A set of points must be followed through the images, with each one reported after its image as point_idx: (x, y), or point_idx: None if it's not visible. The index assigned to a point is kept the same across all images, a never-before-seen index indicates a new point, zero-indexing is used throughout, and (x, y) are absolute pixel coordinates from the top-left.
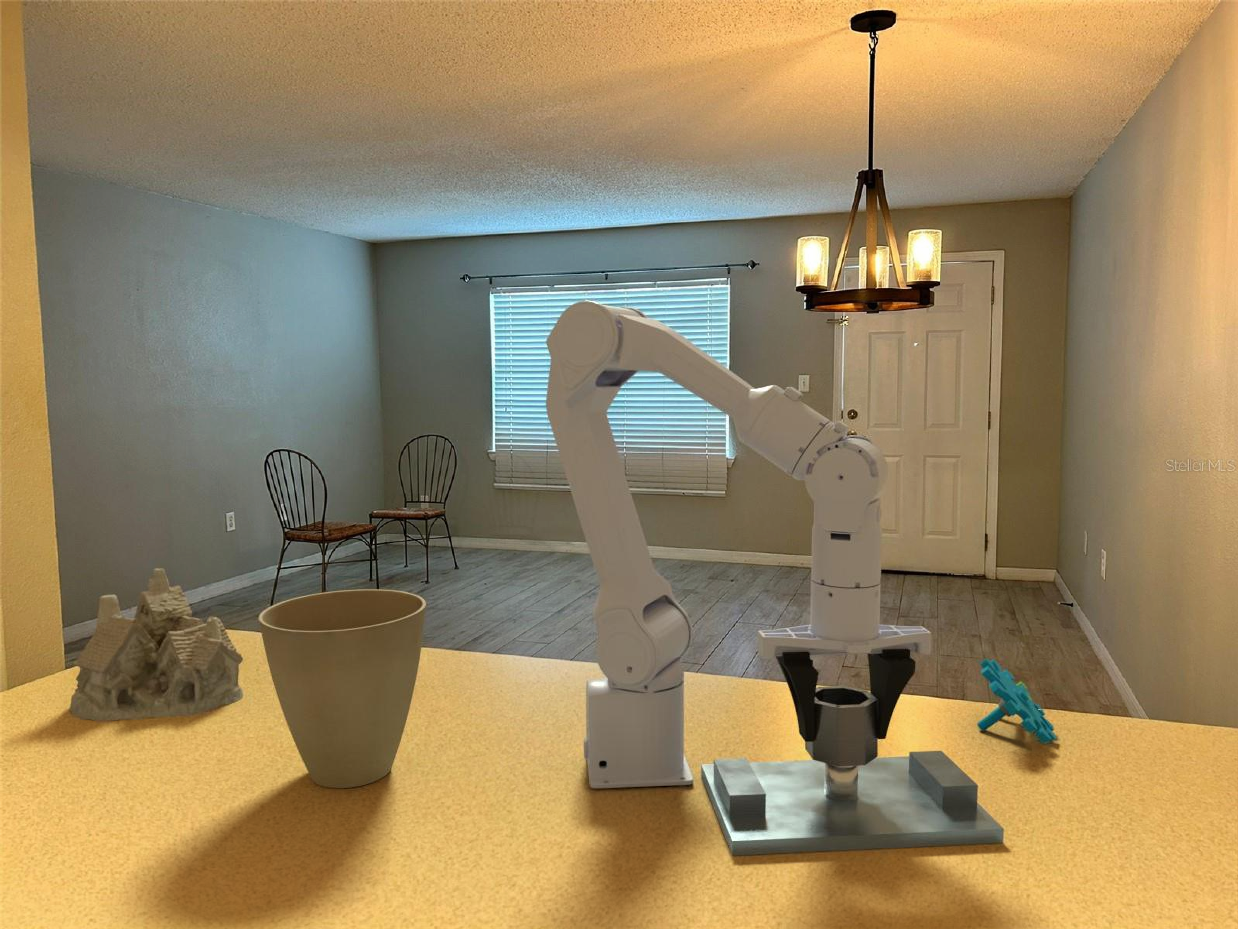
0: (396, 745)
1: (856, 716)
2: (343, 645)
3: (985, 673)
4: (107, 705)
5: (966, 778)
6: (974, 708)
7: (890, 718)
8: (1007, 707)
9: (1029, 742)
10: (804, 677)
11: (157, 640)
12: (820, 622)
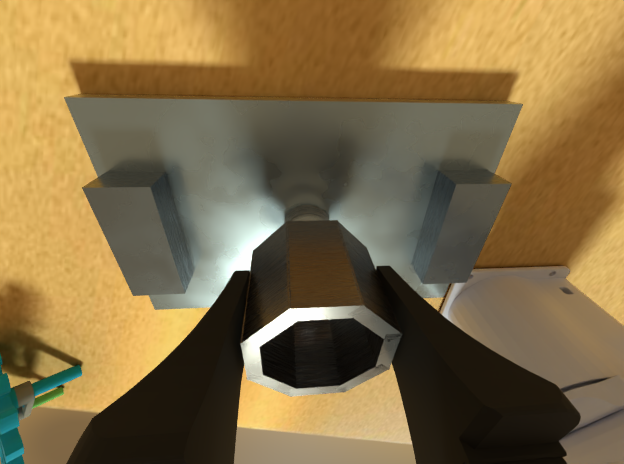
0: None
1: (310, 289)
2: None
3: (15, 448)
4: None
5: (101, 212)
6: (83, 401)
7: (218, 298)
8: (5, 386)
9: (19, 345)
10: (516, 385)
11: None
12: None
